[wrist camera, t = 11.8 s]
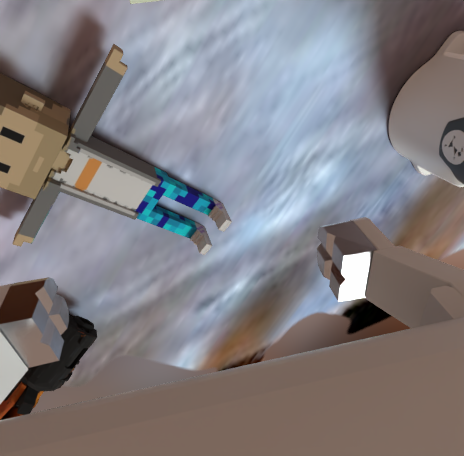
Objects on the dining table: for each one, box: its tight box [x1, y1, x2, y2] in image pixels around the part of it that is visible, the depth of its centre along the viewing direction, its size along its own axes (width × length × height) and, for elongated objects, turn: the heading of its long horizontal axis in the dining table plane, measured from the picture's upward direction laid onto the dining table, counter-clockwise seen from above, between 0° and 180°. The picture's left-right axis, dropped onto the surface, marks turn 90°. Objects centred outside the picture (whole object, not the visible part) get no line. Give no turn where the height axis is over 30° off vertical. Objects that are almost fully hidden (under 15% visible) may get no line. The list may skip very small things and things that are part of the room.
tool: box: [0, 315, 97, 420], centre depth 55 cm, size 8×23×15 cm, turn 131°
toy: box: [0, 44, 232, 255], centre depth 42 cm, size 26×8×30 cm
